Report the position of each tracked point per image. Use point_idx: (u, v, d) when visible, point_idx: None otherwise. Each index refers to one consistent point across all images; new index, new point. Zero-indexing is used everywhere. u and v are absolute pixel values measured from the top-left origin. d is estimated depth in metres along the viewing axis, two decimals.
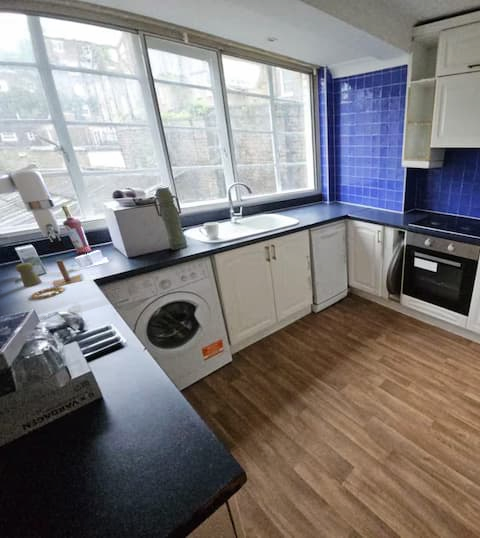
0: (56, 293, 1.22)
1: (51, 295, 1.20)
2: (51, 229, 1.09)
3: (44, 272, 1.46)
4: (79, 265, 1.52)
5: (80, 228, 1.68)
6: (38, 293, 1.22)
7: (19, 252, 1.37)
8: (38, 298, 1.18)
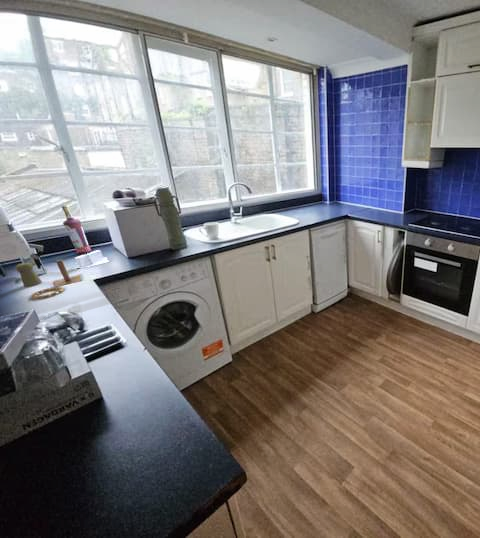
0: (56, 293, 1.22)
1: (51, 295, 1.20)
2: (38, 245, 1.17)
3: (44, 272, 1.46)
4: (79, 265, 1.52)
5: (80, 228, 1.68)
6: (38, 293, 1.22)
7: None
8: (38, 298, 1.18)
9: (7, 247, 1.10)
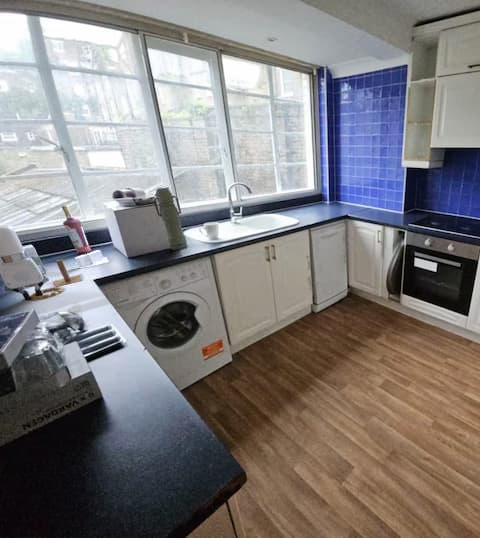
0: (55, 293, 1.22)
1: (50, 295, 1.20)
2: (46, 277, 1.21)
3: (44, 272, 1.46)
4: (79, 265, 1.52)
5: (80, 228, 1.68)
6: None
7: None
8: (37, 298, 1.18)
9: (20, 274, 1.14)
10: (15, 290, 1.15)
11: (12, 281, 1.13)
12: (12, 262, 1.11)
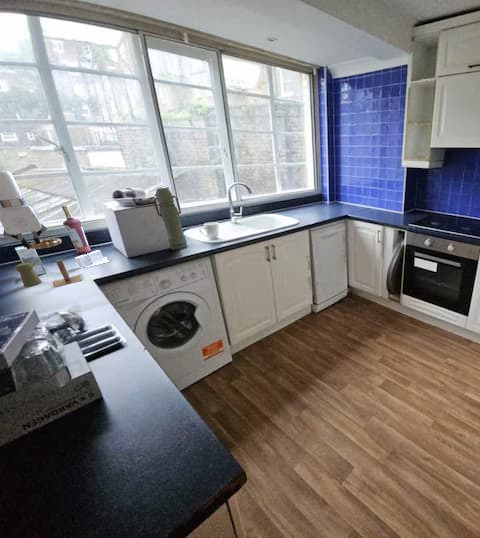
0: (53, 242, 1.24)
1: (48, 243, 1.22)
2: (44, 226, 1.23)
3: (44, 272, 1.46)
4: (79, 265, 1.52)
5: (80, 228, 1.68)
6: None
7: (19, 252, 1.37)
8: (36, 246, 1.20)
9: (19, 220, 1.16)
10: (14, 236, 1.18)
11: (11, 226, 1.15)
12: (11, 207, 1.13)
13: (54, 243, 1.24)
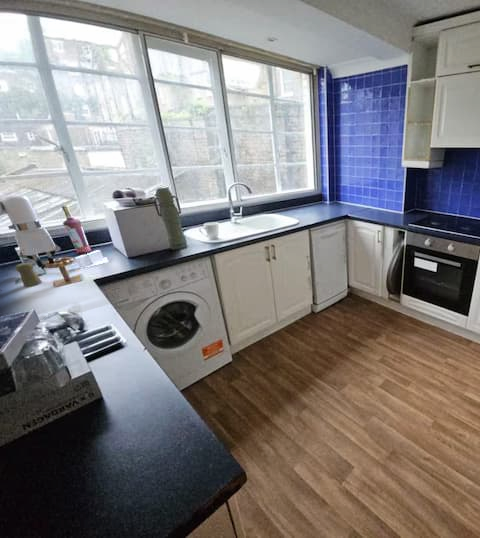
0: (67, 262, 1.30)
1: (62, 263, 1.28)
2: (57, 246, 1.29)
3: (44, 272, 1.46)
4: (79, 265, 1.52)
5: (80, 228, 1.68)
6: None
7: (19, 252, 1.37)
8: (50, 265, 1.26)
9: (34, 242, 1.22)
10: (29, 257, 1.23)
11: (27, 248, 1.21)
12: (27, 230, 1.19)
13: (67, 263, 1.30)
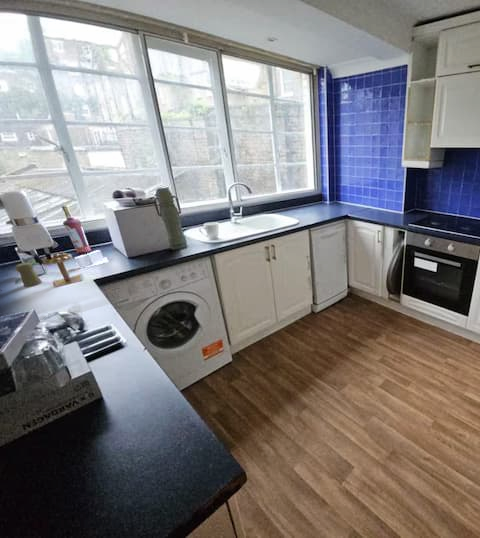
0: (64, 258, 1.29)
1: (60, 259, 1.27)
2: (55, 242, 1.28)
3: (44, 272, 1.46)
4: (79, 265, 1.52)
5: (80, 228, 1.68)
6: None
7: None
8: (48, 261, 1.25)
9: (32, 237, 1.21)
10: (27, 253, 1.22)
11: (24, 243, 1.20)
12: (25, 225, 1.18)
13: (65, 259, 1.29)
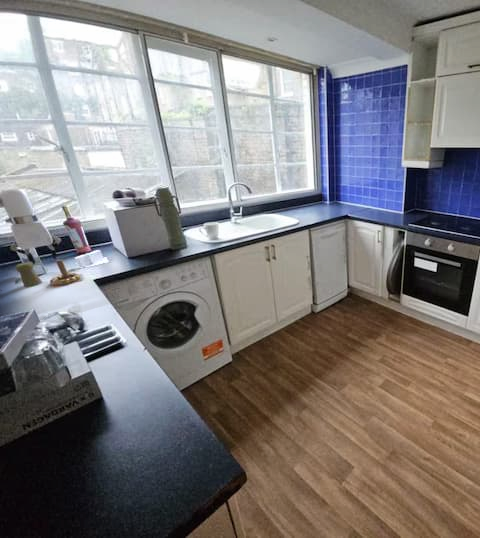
0: (73, 278, 1.33)
1: (68, 279, 1.31)
2: None
3: (44, 272, 1.46)
4: (79, 265, 1.52)
5: (80, 228, 1.68)
6: (56, 278, 1.33)
7: None
8: (57, 282, 1.29)
9: (31, 235, 1.21)
10: (20, 251, 1.21)
11: (24, 242, 1.20)
12: (24, 223, 1.18)
13: (73, 279, 1.33)
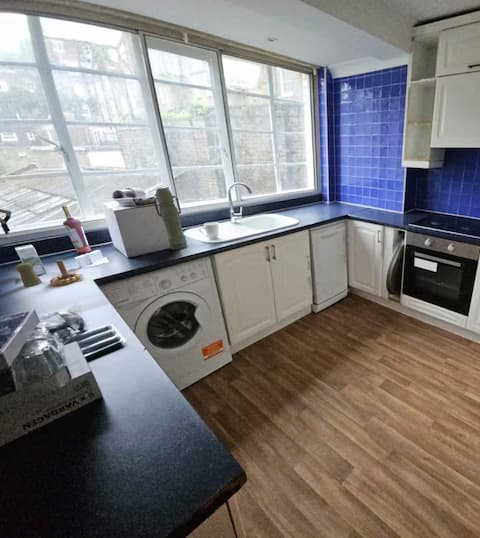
0: (73, 278, 1.33)
1: (68, 279, 1.31)
2: (5, 210, 1.15)
3: (44, 272, 1.46)
4: (79, 265, 1.52)
5: (80, 228, 1.68)
6: (56, 278, 1.33)
7: (19, 252, 1.37)
8: (57, 282, 1.29)
9: None
10: None
11: None
12: None
13: (73, 279, 1.33)
